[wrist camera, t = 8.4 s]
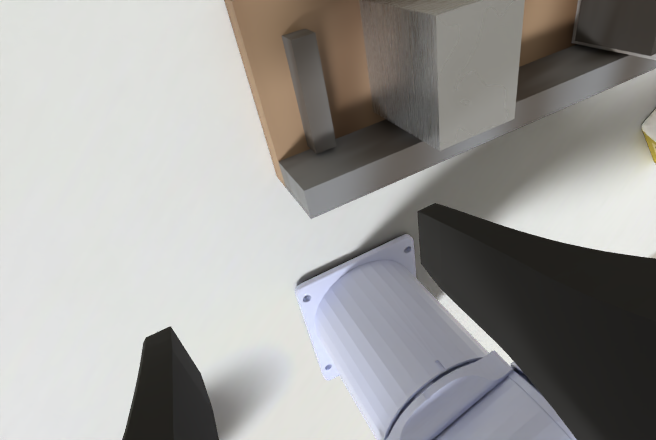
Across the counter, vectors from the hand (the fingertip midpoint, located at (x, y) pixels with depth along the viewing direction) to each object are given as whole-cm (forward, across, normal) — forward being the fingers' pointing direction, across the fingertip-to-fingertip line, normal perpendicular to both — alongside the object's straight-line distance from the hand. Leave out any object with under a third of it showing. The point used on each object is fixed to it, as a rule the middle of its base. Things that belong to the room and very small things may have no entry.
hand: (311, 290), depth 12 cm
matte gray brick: (+9, -9, -2) cm, 13 cm away
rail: (+10, -14, -2) cm, 17 cm away
